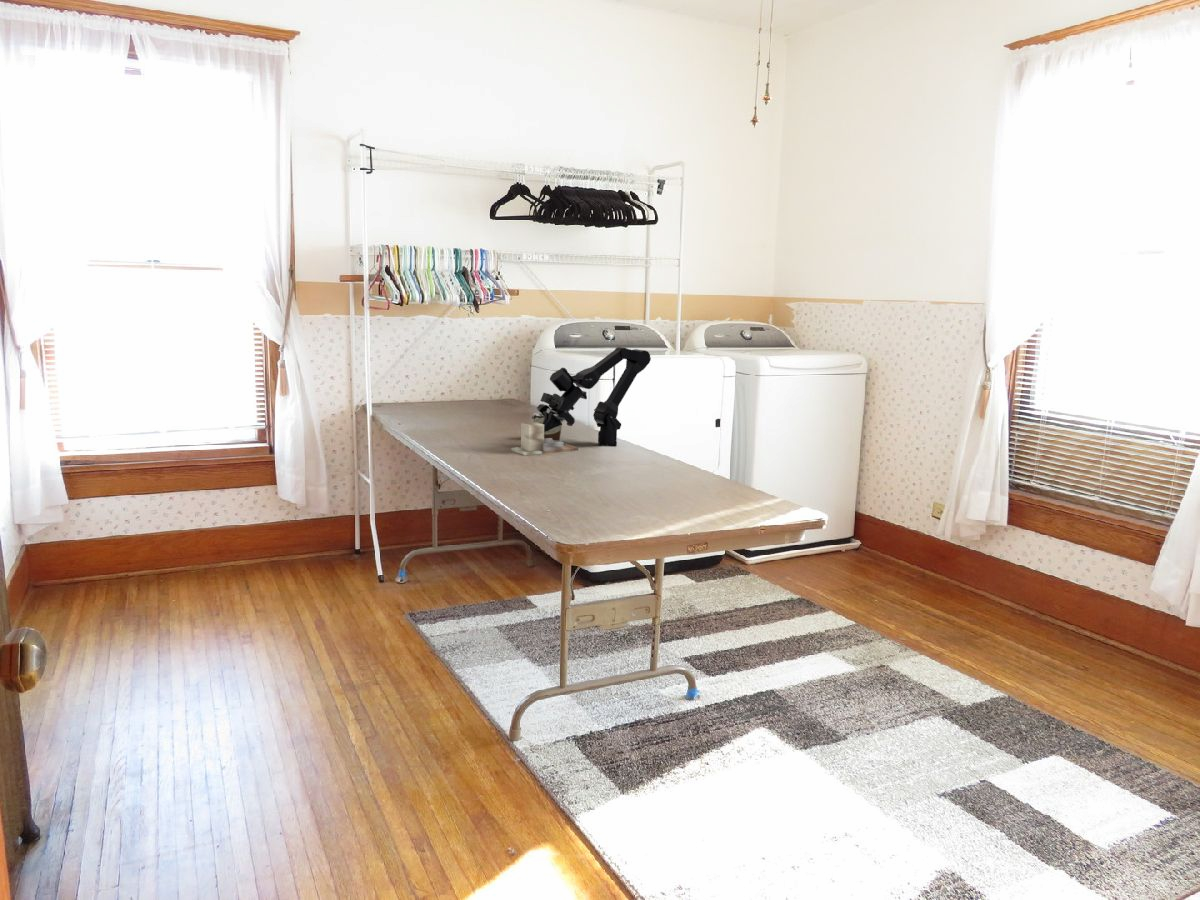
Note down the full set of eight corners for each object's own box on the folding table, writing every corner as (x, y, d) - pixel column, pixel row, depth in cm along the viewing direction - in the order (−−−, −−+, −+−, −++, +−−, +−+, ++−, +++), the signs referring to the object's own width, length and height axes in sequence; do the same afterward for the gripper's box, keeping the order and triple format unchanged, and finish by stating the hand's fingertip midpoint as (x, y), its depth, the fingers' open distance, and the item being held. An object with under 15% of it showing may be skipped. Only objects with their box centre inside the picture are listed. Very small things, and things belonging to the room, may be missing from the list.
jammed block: (535, 446, 312) (536, 422, 310) (543, 449, 307) (544, 424, 305) (520, 448, 308) (521, 423, 307) (528, 451, 303) (529, 425, 302)
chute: (564, 445, 320) (564, 436, 320) (578, 450, 312) (578, 441, 311) (511, 450, 309) (511, 441, 308) (524, 455, 300) (524, 445, 300)
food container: (565, 438, 335) (566, 412, 333) (563, 441, 329) (564, 415, 327) (534, 436, 336) (534, 411, 334) (531, 439, 330) (531, 413, 328)
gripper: (541, 381, 315) (514, 413, 312) (567, 387, 300) (539, 421, 296) (560, 402, 321) (533, 433, 317) (586, 409, 306) (559, 442, 302)
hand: (540, 432), depth 308 cm, fingers closed, pressing on jammed block
